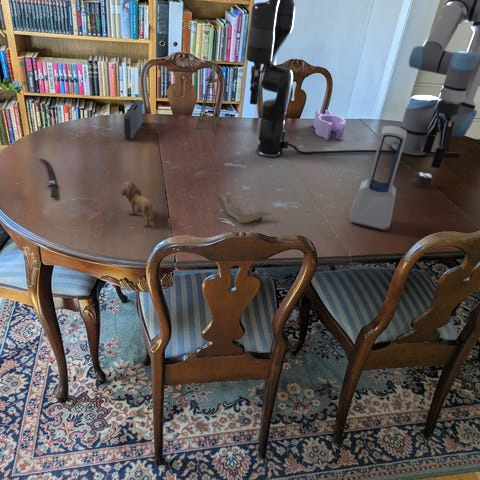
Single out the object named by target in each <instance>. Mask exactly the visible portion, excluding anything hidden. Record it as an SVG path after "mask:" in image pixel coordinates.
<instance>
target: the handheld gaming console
mask: <svg viewBox="0 0 480 480" xmlns="http://www.w3.org/2000/svg"><path fill="white" fill-rule="evenodd" d="M143 107H144V105H143V100H142V99H136V100H135V101H134V102H133V103H132V104H131V106H130V107H129V108H128V109H127V111H126V113H125V114H124V115H123V116H124V117H123V125H124V126H123V127H124V128H123V129H124V139H125V140H128V141H129V140H130V141H132V139H133V138H134V137H135V135H136V133H137V132H138V131H139V129H140V128H141V126H142V124H143V120H144V113H143V112H144V111H143Z"/></svg>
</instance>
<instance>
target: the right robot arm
mask: <svg viewBox="0 0 480 480" xmlns="http://www.w3.org/2000/svg"><path fill="white" fill-rule="evenodd" d="M439 15H440V16H439V18H438V19H437V21H436V23H435V25H434V26H433V28H432V30H431V32H430V33H429V35H428V37H427V38H426V40H425V42H424V43H423V45H415V46H414V47H413V48H412V50H411V52H410V54H409V55H410V56H409V58H408V59H409V60H408V66H409V68H411V69H415V70H418V71H424V72H428V73H434V74H438V75H443V76H445V79H444V82H443V83H442V88H441V89H439V93H440V94H439V96H434V95H428V94H418V95H413V96H411V97H409V99H408V101H407V104H406V106H405V111H404V115H403V117H402V122H401V125H400V128H402V129H404V130H406V131H407V134H406V140H405V143H404V147H403V150H402V153H401V155H405V156H409V157H410V156H411V157H423V156H426V155H427V154H426V153H430V152H432V149H433V146H434V143H435V140H436V137H437V136H439V137H438V147H436V148H435V152H436V153H435V154H434V155H433V159H432V162H431V165H430V167H431V168H435V169H440V167H441V164H442V161H443V159H444V156H445V155H444V153H445V152H449V151H450V146H451V139H452V137H453V138H454V137H455V138H464V137H465V136H466V134H467V133H468V131H469V129H470V128H471V126H472V125H473V122H474V120H475V118H476V116H477V114H478V111H477V110H476V103H475V101H474V100H475V97H476V95H477V92H478V89H479V87H480V0H447V1H446V2H445V3H444V5H443V6H442V8H441V10H440V14H439ZM464 22H466V23H472V25H471V29H472V31H473V34H472V37H471V40H470V42H469V45H468V48H467V50H466V51H464V50H456V51H449V50H446V49H447V47H448V45H449V43H450V42H451V41H452V38H453V36H454V35H455V33H456V31H457V29H458V27H459V25H462V24H463V23H464ZM399 141H400V139H398V138H395V137H393V139H392V141H391V145H390V147H391V150H397V148H398V144H399Z"/></svg>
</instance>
